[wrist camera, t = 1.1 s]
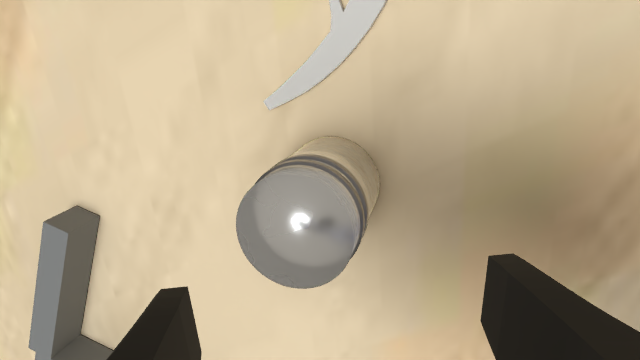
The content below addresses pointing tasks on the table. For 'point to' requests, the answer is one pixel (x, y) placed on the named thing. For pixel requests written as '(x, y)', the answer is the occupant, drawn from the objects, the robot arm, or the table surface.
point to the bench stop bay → (64, 288)
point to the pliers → (330, 47)
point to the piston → (309, 213)
